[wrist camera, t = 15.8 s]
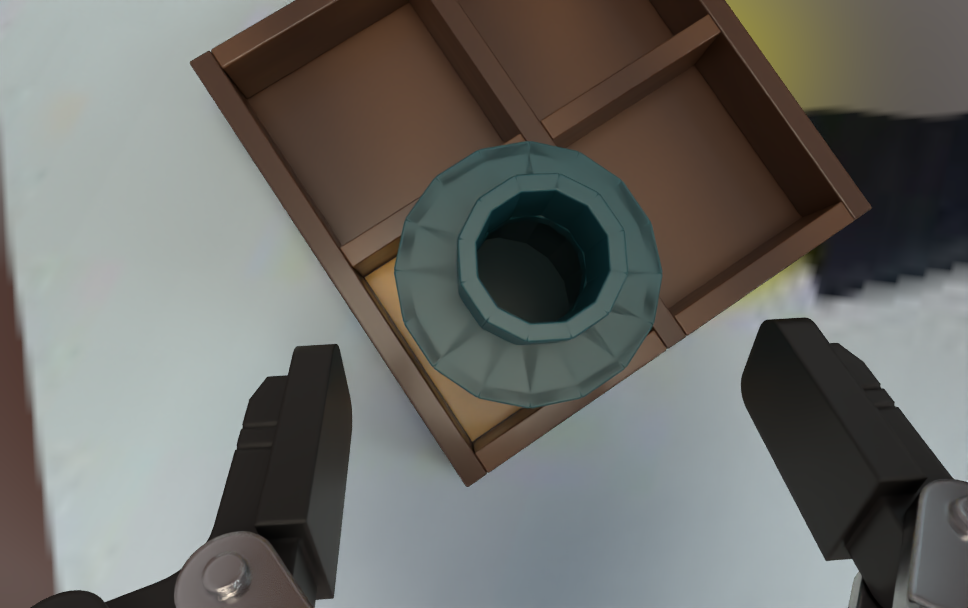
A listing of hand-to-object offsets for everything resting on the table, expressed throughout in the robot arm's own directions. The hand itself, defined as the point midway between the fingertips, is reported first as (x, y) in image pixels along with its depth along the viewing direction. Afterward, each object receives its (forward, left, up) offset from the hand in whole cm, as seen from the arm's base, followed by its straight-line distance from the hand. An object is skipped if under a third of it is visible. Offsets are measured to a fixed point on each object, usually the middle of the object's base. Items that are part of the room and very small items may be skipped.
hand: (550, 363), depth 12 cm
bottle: (-1, -2, -11) cm, 11 cm away
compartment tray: (-5, -6, -11) cm, 14 cm away
